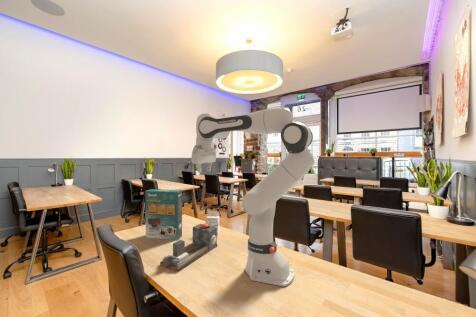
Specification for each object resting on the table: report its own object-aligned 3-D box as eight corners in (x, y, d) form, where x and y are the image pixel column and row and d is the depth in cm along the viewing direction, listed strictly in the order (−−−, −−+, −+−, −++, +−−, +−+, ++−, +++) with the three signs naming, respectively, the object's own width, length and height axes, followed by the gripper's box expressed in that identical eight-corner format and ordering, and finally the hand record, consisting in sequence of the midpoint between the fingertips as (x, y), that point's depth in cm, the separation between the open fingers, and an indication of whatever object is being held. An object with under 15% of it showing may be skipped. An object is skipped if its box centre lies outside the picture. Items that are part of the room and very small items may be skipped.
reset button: (209, 226, 127) (209, 224, 126) (205, 228, 123) (205, 226, 123) (204, 225, 128) (204, 223, 128) (199, 227, 125) (199, 225, 125)
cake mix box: (182, 235, 142) (181, 190, 141) (178, 239, 136) (177, 192, 135) (150, 233, 145) (150, 189, 144) (145, 237, 139) (145, 190, 138)
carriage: (188, 258, 109) (188, 241, 109) (179, 263, 104) (179, 246, 104) (178, 254, 113) (178, 238, 112) (169, 259, 107) (169, 243, 107)
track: (217, 246, 127) (217, 227, 126) (178, 272, 100) (178, 247, 99) (201, 242, 133) (201, 223, 132) (160, 265, 106) (159, 241, 105)
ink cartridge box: (205, 234, 144) (205, 212, 144) (207, 232, 149) (207, 210, 149) (218, 235, 143) (218, 213, 143) (219, 232, 148) (219, 211, 148)
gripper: (199, 144, 103) (199, 174, 104) (218, 145, 122) (218, 170, 123) (188, 144, 105) (188, 173, 106) (208, 145, 124) (208, 169, 125)
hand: (204, 171), depth 114 cm, fingers open, 8 cm apart
